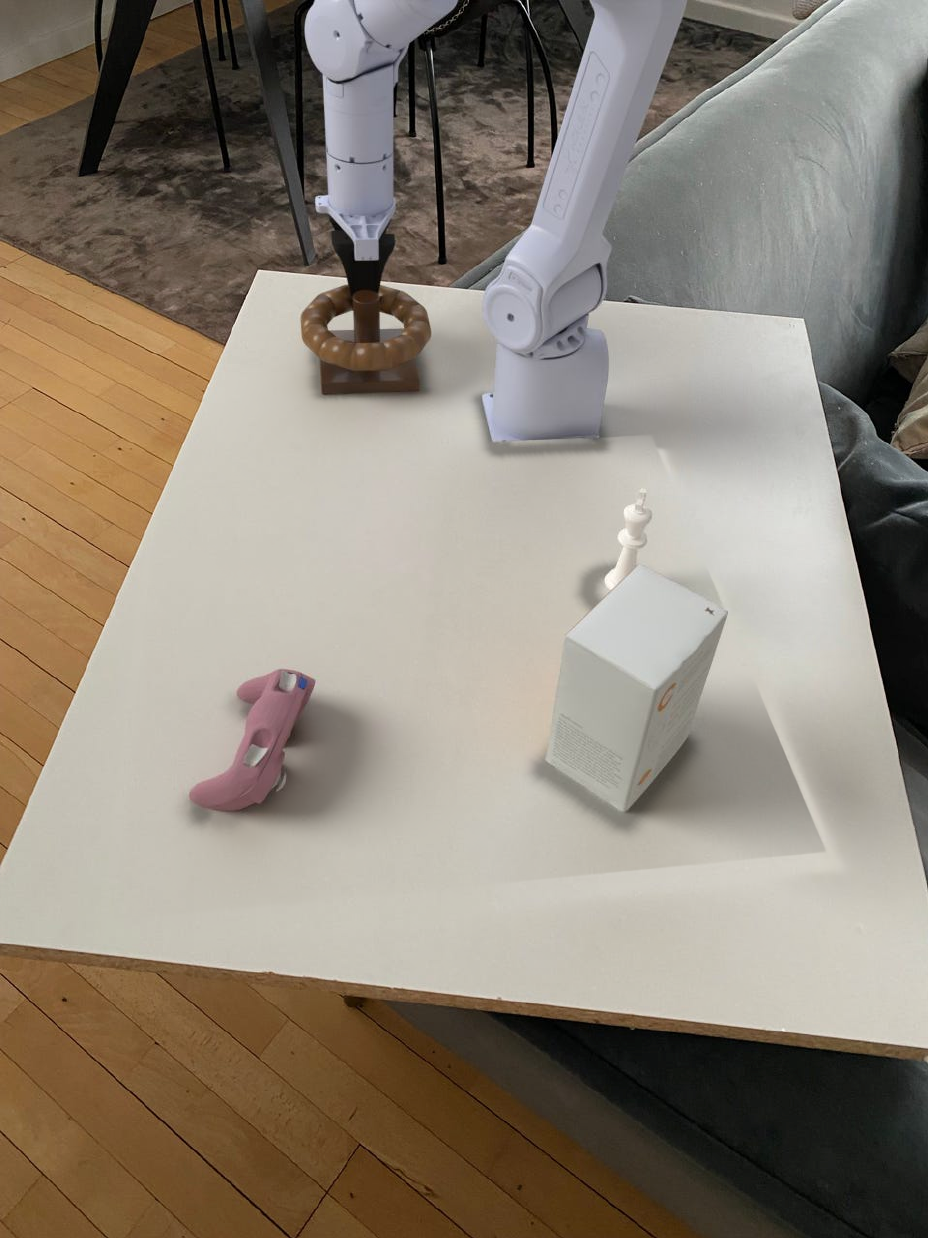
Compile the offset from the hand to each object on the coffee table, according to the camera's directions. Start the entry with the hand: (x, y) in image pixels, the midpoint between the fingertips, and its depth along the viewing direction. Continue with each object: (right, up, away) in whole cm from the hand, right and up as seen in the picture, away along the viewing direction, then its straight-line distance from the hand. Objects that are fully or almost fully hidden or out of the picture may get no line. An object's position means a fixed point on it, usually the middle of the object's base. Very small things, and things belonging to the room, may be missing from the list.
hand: (363, 295), depth 99 cm
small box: (+19, -40, -30) cm, 54 cm away
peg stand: (0, -7, 0) cm, 7 cm away
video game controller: (-4, -40, -31) cm, 51 cm away
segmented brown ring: (+1, -4, -3) cm, 5 cm away
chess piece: (+21, -29, -19) cm, 41 cm away
